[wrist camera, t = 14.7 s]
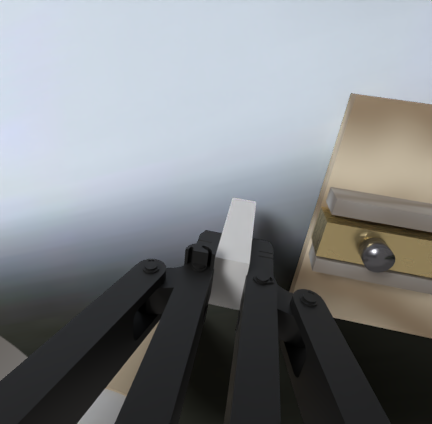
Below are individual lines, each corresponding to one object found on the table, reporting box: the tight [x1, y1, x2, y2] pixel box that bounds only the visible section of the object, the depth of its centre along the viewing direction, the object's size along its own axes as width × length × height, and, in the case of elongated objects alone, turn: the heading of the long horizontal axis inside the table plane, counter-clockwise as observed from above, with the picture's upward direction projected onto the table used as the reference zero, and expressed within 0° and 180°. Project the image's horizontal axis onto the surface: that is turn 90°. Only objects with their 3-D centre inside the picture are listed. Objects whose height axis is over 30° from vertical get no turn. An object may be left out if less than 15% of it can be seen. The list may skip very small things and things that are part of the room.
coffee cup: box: [77, 320, 160, 424], centre depth 21 cm, size 9×9×15 cm
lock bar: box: [311, 207, 432, 278], centre depth 17 cm, size 2×8×3 cm, turn 83°
